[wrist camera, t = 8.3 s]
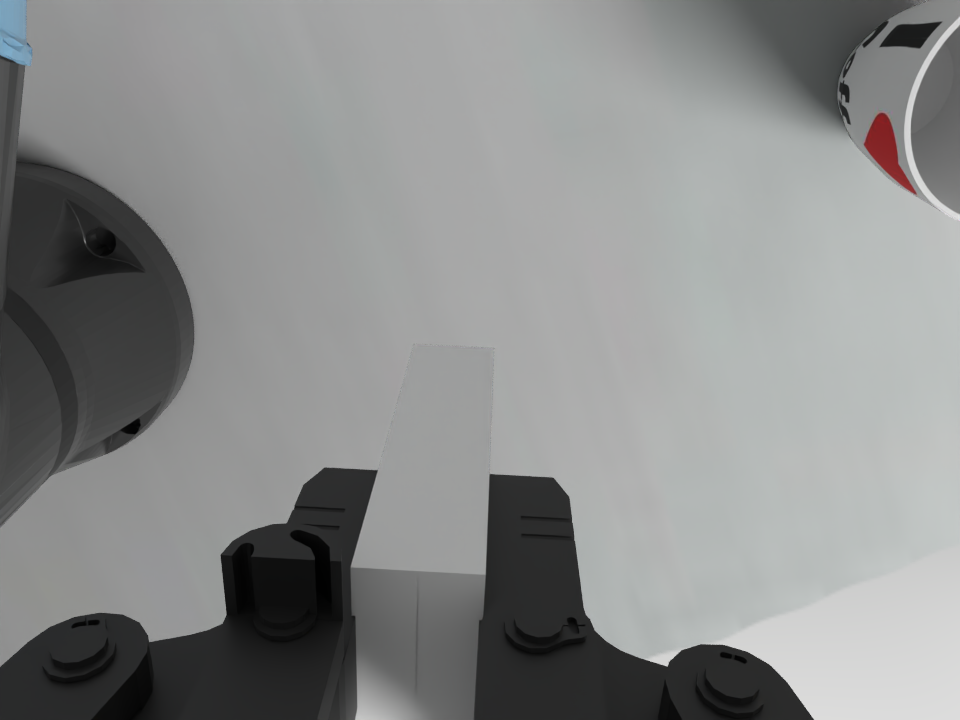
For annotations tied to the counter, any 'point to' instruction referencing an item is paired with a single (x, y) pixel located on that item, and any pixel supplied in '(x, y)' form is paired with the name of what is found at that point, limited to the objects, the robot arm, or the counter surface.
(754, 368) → the counter surface
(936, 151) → the cup
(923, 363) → the counter surface
